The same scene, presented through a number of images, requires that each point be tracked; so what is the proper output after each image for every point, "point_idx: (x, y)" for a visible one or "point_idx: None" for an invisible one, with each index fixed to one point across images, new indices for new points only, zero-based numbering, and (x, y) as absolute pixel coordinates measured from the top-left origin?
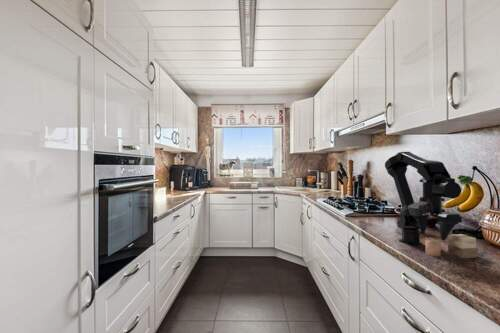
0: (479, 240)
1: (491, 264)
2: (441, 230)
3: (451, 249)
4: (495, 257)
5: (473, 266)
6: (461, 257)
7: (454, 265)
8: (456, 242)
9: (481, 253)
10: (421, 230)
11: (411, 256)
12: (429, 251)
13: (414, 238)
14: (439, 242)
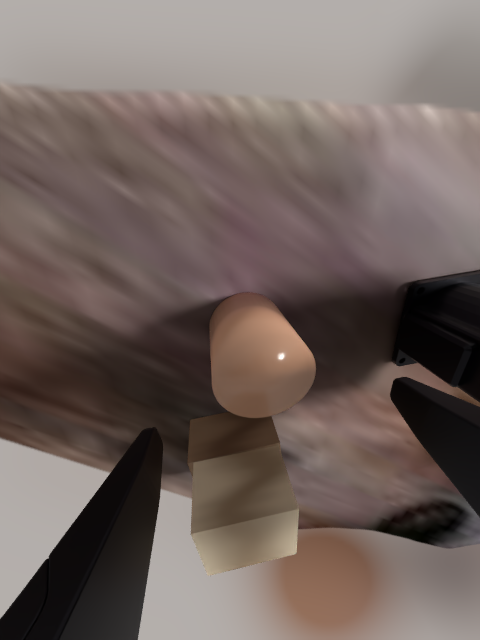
0: (360, 525)
1: None
2: (59, 582)
3: (252, 425)
4: None
5: (74, 406)
6: (196, 418)
7: (61, 334)
8: (229, 482)
9: None
10: (422, 395)
11: (203, 144)
12: (231, 307)
13: (432, 333)
14: (222, 403)
